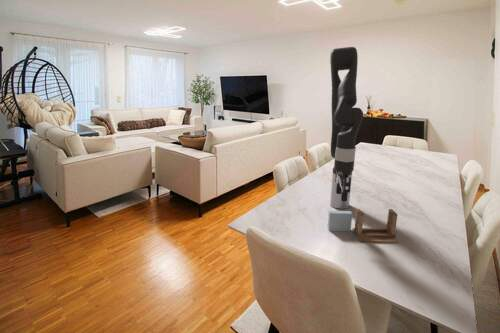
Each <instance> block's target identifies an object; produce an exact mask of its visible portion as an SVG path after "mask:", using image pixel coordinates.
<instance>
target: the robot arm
mask: <svg viewBox="0 0 500 333" xmlns="http://www.w3.org/2000/svg"><path fill="white" fill-rule="evenodd" d="M329 62H330V77H331V79H330V80H331V136H330V137H331V138H330V156H331V157H332V158H333V159H334V164H333V168H332V175H331V176H332V178H331V188H330V189H331V191H330V204H329V205H330V206H331V207H333V208H335V209H339V210H343V209H345V210H346V209H348V208H349V207H350V201H351V200H350V199H351V187H352V178H353V172H354V168H355V158H356V142H357V137H358V136H357V135H358V131H359V129H360V127H361V124H362V122H363V119H364V113H363V112H364V111H363V110H362V108H360V107H355V106H356V104H357V101H358V98H357V78H358V77H357V76H358V75H357V74H358V50H357V48H356V47H355V46H346V47H340V48H339V47H336V48H333V49H331V52H330V61H329ZM347 70H348V72H347V73H346V75H345V76H344V78H342V80H341V78H340V74H339V72H340V71H347ZM345 127H350V129H348V130H346V131H343V130H344V128H345Z"/></svg>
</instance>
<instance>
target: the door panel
mask: <svg viewBox="0 0 500 333" xmlns="http://www.w3.org/2000/svg"><path fill="white" fill-rule="evenodd" d="M327 215H328V218H327V230H328V231H329V232H351V231H352V222H353V212H352V211H351V210H328V214H327Z"/></svg>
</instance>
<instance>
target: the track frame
mask: <svg viewBox="0 0 500 333" xmlns="http://www.w3.org/2000/svg"><path fill="white" fill-rule="evenodd" d="M355 211H356V212H355V223H354V227H353V228H351V231H352V232H353V233H354V235H355V236H356V238H357V240H358V242H359V243H381V244H382V243H385V244H386V243H388V244H390V243H391V244H397V243H398V240H397V239H396V228H397V220H398V215H399V214H398V213H397V212H395V211H394V209H392V208H389V209H388V214H387V222H386V228H380V227H379V228H377V227H376V228H374V227H373V228H372V227H363V224H364V217H365V216H364V212H363V211H362V209H361V208H356V209H355Z"/></svg>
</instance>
